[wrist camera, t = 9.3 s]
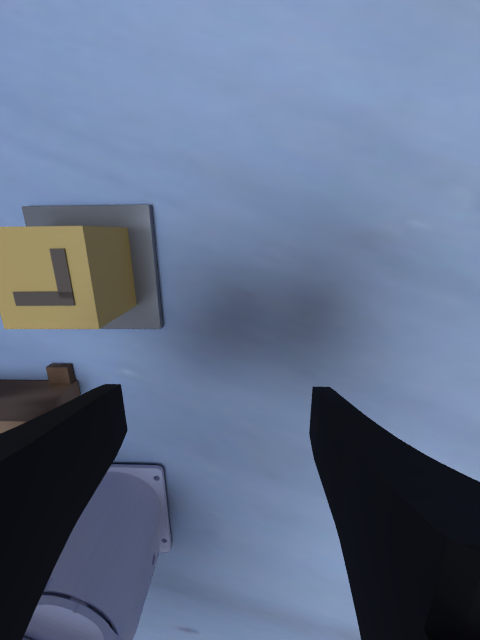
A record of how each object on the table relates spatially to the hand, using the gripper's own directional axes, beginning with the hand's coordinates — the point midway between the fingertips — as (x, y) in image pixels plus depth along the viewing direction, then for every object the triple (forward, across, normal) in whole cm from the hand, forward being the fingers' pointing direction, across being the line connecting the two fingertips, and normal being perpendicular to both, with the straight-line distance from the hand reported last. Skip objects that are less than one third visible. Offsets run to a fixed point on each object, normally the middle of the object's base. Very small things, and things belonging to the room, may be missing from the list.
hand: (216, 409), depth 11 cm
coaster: (+10, +9, -4) cm, 14 cm away
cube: (+9, +9, -4) cm, 14 cm away
